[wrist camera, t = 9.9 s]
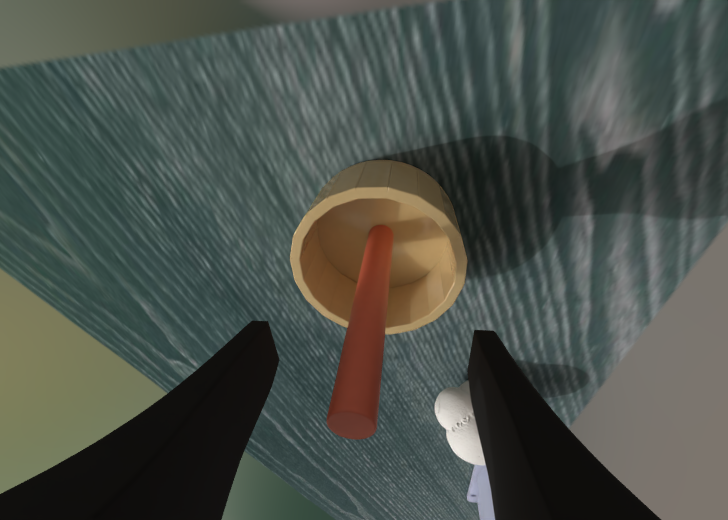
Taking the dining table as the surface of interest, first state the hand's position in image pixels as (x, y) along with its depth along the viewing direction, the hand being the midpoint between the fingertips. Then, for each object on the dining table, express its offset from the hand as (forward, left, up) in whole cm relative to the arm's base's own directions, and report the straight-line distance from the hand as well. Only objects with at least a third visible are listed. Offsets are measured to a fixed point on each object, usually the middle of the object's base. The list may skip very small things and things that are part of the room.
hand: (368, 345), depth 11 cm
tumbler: (0, 0, -8) cm, 9 cm away
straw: (0, 0, -8) cm, 8 cm away
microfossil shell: (-13, -6, -9) cm, 17 cm away
